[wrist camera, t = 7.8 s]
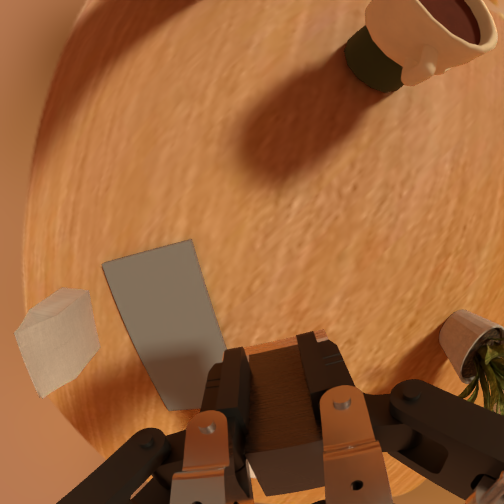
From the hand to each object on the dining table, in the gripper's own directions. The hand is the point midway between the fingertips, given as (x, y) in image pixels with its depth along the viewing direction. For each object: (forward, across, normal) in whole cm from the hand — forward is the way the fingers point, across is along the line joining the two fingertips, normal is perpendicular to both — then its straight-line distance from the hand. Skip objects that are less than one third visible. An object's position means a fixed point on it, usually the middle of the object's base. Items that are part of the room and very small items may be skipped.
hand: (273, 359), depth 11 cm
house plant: (+14, -19, +15) cm, 28 cm away
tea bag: (+14, +20, +2) cm, 25 cm away
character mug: (+14, -14, -15) cm, 25 cm away
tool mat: (+14, +10, +6) cm, 18 cm away
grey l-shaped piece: (+2, 0, +6) cm, 7 cm away
